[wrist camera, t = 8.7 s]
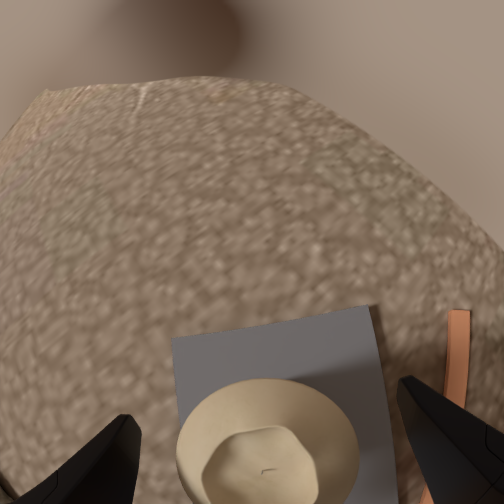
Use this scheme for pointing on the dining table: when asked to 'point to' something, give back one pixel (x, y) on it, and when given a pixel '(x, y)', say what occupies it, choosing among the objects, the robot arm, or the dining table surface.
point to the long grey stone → (4, 497)
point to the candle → (267, 446)
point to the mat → (304, 379)
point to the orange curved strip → (455, 366)
